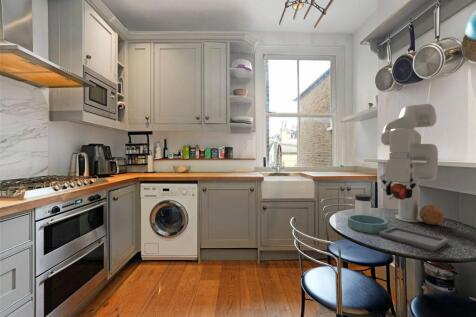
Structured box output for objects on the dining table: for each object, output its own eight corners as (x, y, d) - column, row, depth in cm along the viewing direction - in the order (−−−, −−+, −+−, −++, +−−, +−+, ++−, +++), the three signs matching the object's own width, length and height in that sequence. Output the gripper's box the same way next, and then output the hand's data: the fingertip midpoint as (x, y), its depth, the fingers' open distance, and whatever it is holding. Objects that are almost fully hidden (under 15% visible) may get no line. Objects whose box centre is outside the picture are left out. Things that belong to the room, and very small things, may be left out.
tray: (394, 230, 117) (394, 226, 117) (447, 243, 100) (447, 239, 100) (379, 236, 109) (379, 231, 109) (434, 251, 92) (434, 246, 92)
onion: (448, 226, 123) (449, 206, 123) (433, 228, 120) (434, 208, 120) (428, 220, 132) (428, 202, 132) (414, 222, 129) (415, 203, 129)
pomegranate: (398, 206, 105) (418, 192, 104) (386, 192, 106) (406, 178, 105) (390, 204, 112) (409, 191, 111) (379, 191, 113) (398, 178, 113)
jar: (374, 216, 141) (374, 196, 141) (365, 218, 137) (366, 197, 137) (360, 213, 149) (360, 193, 149) (351, 215, 145) (351, 194, 145)
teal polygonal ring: (360, 220, 134) (360, 213, 133) (393, 228, 119) (393, 220, 119) (341, 225, 124) (341, 217, 124) (375, 235, 110) (375, 226, 110)
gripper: (426, 156, 103) (425, 198, 103) (383, 156, 118) (383, 192, 118) (418, 157, 99) (416, 200, 99) (374, 156, 114) (374, 194, 114)
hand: (398, 196), depth 109 cm, fingers closed on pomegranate, 7 cm apart
